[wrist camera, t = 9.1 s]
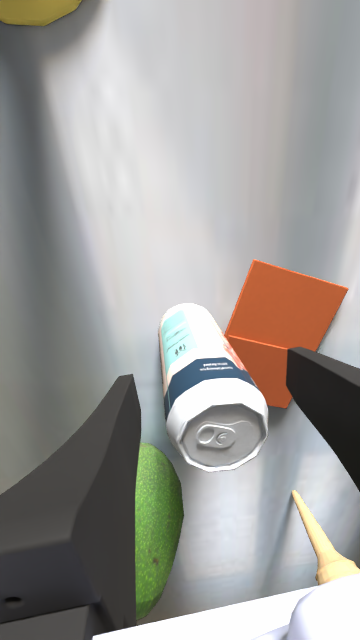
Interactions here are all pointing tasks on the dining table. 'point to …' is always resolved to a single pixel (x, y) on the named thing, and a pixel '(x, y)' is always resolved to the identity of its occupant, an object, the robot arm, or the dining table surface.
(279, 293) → the orange stepped block
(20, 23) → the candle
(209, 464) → the beer can
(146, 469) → the avocado
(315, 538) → the ice cream cone
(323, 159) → the dining table surface
